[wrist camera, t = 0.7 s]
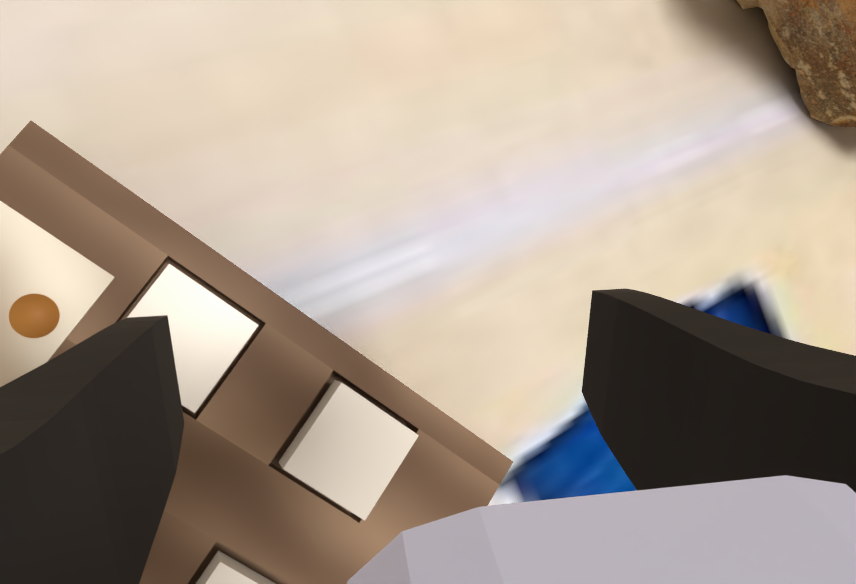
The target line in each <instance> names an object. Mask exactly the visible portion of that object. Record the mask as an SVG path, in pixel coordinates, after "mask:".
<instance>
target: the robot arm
mask: <svg viewBox="0 0 856 584" xmlns="http://www.w3.org/2000/svg"><path fill="white" fill-rule="evenodd" d="M582 393H583V395H584V398H585V400H586V402H587V405H588V407H589V410H590V412H591V414H592V417H593V419H594V421H595V423H596V425H597V427H598V429H599V431H600V433H601V435H602V437H603V439H604V440H605V442H606V443H607V445H608V447H609V448H610V450H611V451H612V453H613V454H614V456H615V458H616V459H617V461H618V462H619V464H620V465H621V467H622V468H623V470H624V471H625V473H626V474H627V476H628V477H629V479H630V480H631V482H632V483H633V485H634V486H635V488H636V489H637V491H628V492H618V493H609V494H599V495H589V496H580V497H570V498H560V499H551V500H541V501H531V502H521V503H512V504H502V505H492V506H483V507H476V508H473V509H470V510H467V511H464V512H461V513H458V514H455V515H452V516H448V517H445V518H442V519H439V520H436V521H433V522H430V523H427V524H423V525H420V526H417V527H414V528H411V529H408V530H405V531H402V532H401V533H400V534H399V535H397V536H396V537H395V538H394V539H393V540H392V541H391V542H390V543H389V544H388V545H386V546H385V547H384V548H383V549H382V550H381V551H380V552H379V553H378V554H377V555H375V556H374V557H373V558H372V559H371V560H370V561H369V562H368V563H367V564H366V565H364V566H363V567H362V568H361V569H360V570H359V571H358V572H357V573H356V574H355V575H353V576H352V577H351V578H350V579H349V580H348V581H347V584H856V356H854V355H849V354H845V353H841V352H836V351H832V350H828V349H824V348H819V347H815V346H811V345H807V344H803V343H799V342H795V341H792V340H788V339H785V338H781V337H778V336H775V335H772V334H768V333H765V332H762V331H758V330H755V329H752V328H749V327H746V326H743V325H740V324H737V323H734V322H731V321H728V320H725V319H722V318H719V317H716V316H713V315H710V314H707V313H705V312H702V311H699V310H696V309H693V308H690V307H688V306H685V305H682V304H679V303H676V302H673V301H670V300H667V299H664V298H661V297H658V296H655V295H651V294H648V293H644V292H641V291H636V290H630V289H613V290H595V291H592V299H591V309H590V319H589V328H588V338H587V347H586V357H585V367H584V376H583V386H582ZM183 429H184V418H183V411H182V405H181V399H180V392H179V386H178V379H177V373H176V367H175V360H174V354H173V347H172V341H171V335H170V328H169V322H168V315H164V316H147V317H129V318H126V319H123V320H120V321H118V322H116V323H114V324H112V325H110V326H108V327H106V328H104V329H103V330H101V331H99V332H97V333H96V334H94V335H92V336H91V337H89V338H87V339H85V340H84V341H82V342H80V343H79V344H77V345H75V346H74V347H72V348H70V349H68V350H67V351H65V352H63V353H62V354H60V355H58V356H56V357H55V358H53V359H51V360H50V361H48V362H46V363H44V364H43V365H41V366H39V367H37V368H35V369H33V370H31V371H30V372H28V373H26V374H24V375H22V376H20V377H18V378H17V379H15V380H13V381H11V382H9V383H7V384H5V385H3V386H2V387H0V584H139V583H140V580H141V577H142V574H143V571H144V568H145V565H146V562H147V559H148V556H149V553H150V550H151V547H152V544H153V541H154V538H155V535H156V532H157V529H158V526H159V524H160V521H161V518H162V515H163V512H164V509H165V506H166V503H167V499H168V496H169V493H170V490H171V487H172V484H173V481H174V478H175V475H176V470H177V465H178V459H179V454H180V448H181V442H182V435H183Z"/></svg>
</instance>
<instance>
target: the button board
mask: <svg viewBox="0 0 856 584" xmlns="http://www.w3.org/2000/svg"><path fill="white" fill-rule="evenodd" d="M169 264H170V265H172V266H173V267H175V268H176V269H178V270H179V271H181V272H182V273H184V274H185V275H186V276H188V277H189V278H191V279H192V280H194V281H195V282H197V283H198V284H200V285H201V286H202V287H204V288H205V289H207V290H208V291H210V292H211V293H213V294H214V295H215V296H217V297H218V298H220V299H221V300H223V301H224V302H226V303H227V304H229V305H230V306H231V307H233V308H234V309H236V310H237V311H239V312H240V313H242V314H243V315H245V316H246V317H247V318H249V319H250V320H252V321H253V322H255V323H256V324H258V325H259V326H258V327H257V328H256V330H255V331H254V332H253V334H252V335H251V337H250V338H249V339H248V341H247V342H246V343H245V345H244V346H243V348H242V349H241V350H240V352H239V353H238V354H237V356H236V357H235V359H234V360H233V361H232V363H231V364H230V365H229V367H228V368H227V370H226V371H225V372H224V374H223V375H222V376H221V378H220V379H219V381H218V382H217V383H216V385H215V386H214V387H213V389H212V390H211V392H210V393H209V394H208V396H207V397H206V398H205V400H204V401H203V403H202V404H201V405H200V407H199V408H198V409H197V411H196V412H195V413H194V412H192V411H191V410H189V409H187V408H186V407H184V406H183V405H182V411H183V418H184V429H183V435H182V442H181V448H180V454H179V459H178V465H177V470H176V475H175V478H174V481H173V484H172V487H171V490H170V493H169V496H168V499H167V503H166V506H165V509H164V512H163V515H162V518H161V521H160V524H159V526H158V529H157V532H156V535H155V538H154V541H153V544H152V547H151V550H150V553H149V556H148V559H147V562H146V565H145V568H144V571H143V574H142V577H141V580H140V583H139V584H196V582H197V581H198V579H199V578H200V576H201V575H202V573H203V572H204V570H205V569H206V568H207V566H208V565H209V563H210V562H211V560H212V559H213V557H214V556H215V554H216V553H217V551H218V550H219V551H221V552H222V553H224V554H226V555H227V556H229V557H231V558H233V559H234V560H236V561H238V562H240V563H241V564H243V565H245V566H246V567H248V568H250V569H252V570H253V571H255V572H257V573H258V574H260V575H262V576H264V577H265V578H267V579H269V580H271V581H272V582H274V583H276V584H347V581H348V580H349V579H350V578H351V577H352V576H353V575H355V574H356V573H357V572H358V571H359V570H360V569H361V568H362V567H363V566H364V565H366V564H367V563H368V562H369V561H370V560H371V559H372V558H373V557H374V556H375V555H377V554H378V553H379V552H380V551H381V550H382V549H383V548H384V547H385V546H386V545H388V544H389V543H390V542H391V541H392V540H393V539H394V538H395V537H396V536H397V535H399V534H400V533H401V532H402V531H405V530H408V529H411V528H414V527H417V526H420V525H423V524H427V523H430V522H433V521H436V520H439V519H442V518H445V517H448V516H452V515H455V514H458V513H461V512H464V511H467V510H470V509H473V508H476V507H483V506H487V505H488V504H489V502H490V500H491V499H492V497H493V495H494V493H495V492H496V490H497V488H498V487H499V485H500V483H501V482H502V480H503V478H504V476H505V475H506V473H507V471H508V470H509V468H510V466H511V465H512V463H513V461H511V460H510V459H509V458H507V457H506V456H504V455H503V454H502V453H500V452H499V451H497V450H496V449H494V448H493V447H492V446H490V445H489V444H487V443H486V442H485V441H483V440H482V439H480V438H479V437H477V436H476V435H475V434H473V433H472V432H470V431H469V430H468V429H466V428H465V427H463V426H462V425H461V424H459V423H458V422H456V421H455V420H453V419H452V418H451V417H449V416H448V415H446V414H445V413H444V412H442V411H441V410H439V409H438V408H437V407H435V406H434V405H432V404H431V403H429V402H428V401H427V400H425V399H424V398H422V397H421V396H420V395H418V394H417V393H415V392H414V391H412V390H411V389H410V388H408V387H407V386H405V385H404V384H403V383H401V382H400V381H398V380H397V379H396V378H394V377H393V376H391V375H390V374H388V373H387V372H386V371H384V370H383V369H381V368H380V367H379V366H377V365H376V364H374V363H373V362H371V361H370V360H369V359H367V358H366V357H364V356H363V355H362V354H360V353H359V352H357V351H356V350H355V349H353V348H352V347H350V346H349V345H347V344H346V343H345V342H343V341H342V340H340V339H339V338H338V337H336V336H335V335H333V334H332V333H330V332H329V331H328V330H326V329H325V328H323V327H322V326H321V325H319V324H318V323H316V322H315V321H314V320H312V319H311V318H309V317H308V316H306V315H305V314H304V313H302V312H301V311H299V310H298V309H297V308H295V307H294V306H292V305H291V304H290V303H288V302H287V301H285V300H284V299H282V298H281V297H280V296H278V295H277V294H275V293H274V292H273V291H271V290H270V289H268V288H267V287H265V286H264V285H263V284H261V283H260V282H258V281H257V280H256V279H254V278H253V277H251V276H250V275H249V274H247V273H246V272H244V271H243V270H241V269H240V268H239V267H237V266H236V265H234V264H233V263H232V262H230V261H229V260H227V259H226V258H224V257H223V256H222V255H220V254H219V253H217V252H216V251H215V250H213V249H212V248H210V247H209V246H208V245H206V244H205V243H203V242H202V241H200V240H199V239H198V238H196V237H195V236H193V235H192V234H191V233H189V232H188V231H186V230H185V229H183V228H182V227H181V226H179V225H178V224H176V223H175V222H174V221H172V220H171V219H169V218H168V217H167V216H165V215H164V214H162V213H161V212H159V211H158V210H157V209H155V208H154V207H152V206H151V205H150V204H148V203H147V202H145V201H144V200H143V199H141V198H140V197H138V196H137V195H135V194H134V193H133V192H131V191H130V190H128V189H127V188H126V187H124V186H123V185H121V184H120V183H118V182H117V181H116V180H114V179H113V178H111V177H110V176H109V175H107V174H106V173H104V172H103V171H102V170H100V169H99V168H97V167H96V166H94V165H93V164H92V163H90V162H89V161H87V160H86V159H85V158H83V157H82V156H80V155H79V154H77V153H76V152H75V151H73V150H72V149H70V148H69V147H68V146H66V145H65V144H63V143H62V142H61V141H59V140H58V139H56V138H55V137H53V136H52V135H51V134H49V133H48V132H46V131H45V130H44V129H42V128H41V127H39V126H38V125H37V124H35V123H34V122H32V121H30V122H29V123H28V124H27V125H26V126H25V127H24V129H23V130H22V131H21V132H20V133H19V134H18V135H17V136H16V138H15V139H14V140H13V141H12V142H11V143H10V144H9V145H8V146H7V148H6V149H5V150H4V151H3V152H2V153H1V154H0V387H2V386H3V385H5V384H7V383H9V382H11V381H13V380H15V379H17V378H18V377H20V376H22V375H24V374H26V373H28V372H30V371H31V370H33V369H35V368H37V367H39V366H41V365H43V364H44V363H46V362H48V361H50V360H51V359H53V358H55V357H56V356H58V355H60V354H62V353H63V352H65V351H67V350H68V349H70V348H72V347H74V346H75V345H77V344H79V343H80V342H82V341H84V340H85V339H87V338H89V337H91V336H92V335H94V334H96V333H97V332H99V331H101V330H103V329H104V328H106V327H108V326H110V325H112V324H114V323H116V322H118V321H120V320H123V319H126V318H127V317H128V316H129V314H130V313H131V312H132V310H133V309H134V308H135V307H136V305H137V304H138V303H139V302H140V300H141V299H142V298H143V296H144V295H145V294H146V293H147V291H148V290H149V289H150V287H151V286H152V285H153V284H154V282H155V281H156V280H157V279H158V277H159V276H160V275H161V273H162V272H163V271H164V270H165V268H166V267H167V266H168V265H169ZM334 380H337V381H339V382H342V383H343V384H345V385H346V386H348V387H349V388H351V389H352V390H353V391H355V392H356V393H358V394H359V395H361V396H362V397H364V398H365V399H367V400H368V401H369V402H371V403H372V404H374V405H375V406H377V407H378V408H380V409H381V410H383V411H384V412H385V413H387V414H388V415H390V416H391V417H393V418H394V419H396V420H397V421H399V422H400V423H401V424H403V425H404V426H406V427H407V428H409V429H410V430H412V431H413V432H414V433H416V434H417V435H419V436H418V438H417V439H416V441H415V442H414V444H413V446H412V447H411V449H410V450H409V452H408V453H407V455H406V457H405V458H404V460H403V461H402V463H401V465H400V466H399V468H398V469H397V471H396V472H395V474H394V476H393V477H392V479H391V480H390V482H389V484H388V485H387V487H386V488H385V490H384V491H383V493H382V495H381V496H380V498H379V499H378V501H377V502H376V504H375V506H374V507H373V509H372V510H371V512H370V514H369V515H368V517H367V518H366V520H365V521H364V520H363V519H361V518H360V517H358V516H357V515H355V514H353V513H352V512H350V511H349V510H347V509H346V508H344V507H342V506H341V505H339V504H338V503H336V502H334V501H333V500H331V499H330V498H328V497H327V496H325V495H323V494H322V493H320V492H319V491H317V490H315V489H314V488H312V487H311V486H309V485H308V484H306V483H304V482H303V481H301V480H300V479H298V478H296V477H295V476H293V475H292V474H290V473H289V472H287V471H285V470H284V469H283V468H282V467H281V465H280V464H279V460H280V459H281V457H282V456H283V454H284V453H285V452H286V450H287V449H288V447H289V446H290V444H291V443H292V441H293V440H294V438H295V437H296V435H297V434H298V432H299V431H300V429H301V428H302V427H303V425H304V424H305V422H306V421H307V419H308V418H309V416H310V415H311V413H312V412H313V410H314V409H315V407H316V406H317V405H318V403H319V402H320V400H321V399H322V397H323V396H324V394H325V393H326V391H327V390H328V388H329V387H330V385H331V384H332V382H333V381H334Z"/></svg>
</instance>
